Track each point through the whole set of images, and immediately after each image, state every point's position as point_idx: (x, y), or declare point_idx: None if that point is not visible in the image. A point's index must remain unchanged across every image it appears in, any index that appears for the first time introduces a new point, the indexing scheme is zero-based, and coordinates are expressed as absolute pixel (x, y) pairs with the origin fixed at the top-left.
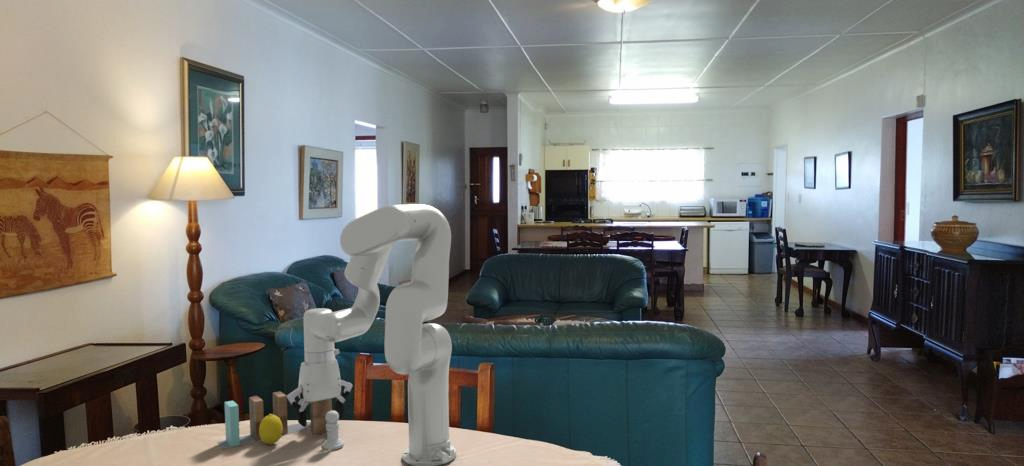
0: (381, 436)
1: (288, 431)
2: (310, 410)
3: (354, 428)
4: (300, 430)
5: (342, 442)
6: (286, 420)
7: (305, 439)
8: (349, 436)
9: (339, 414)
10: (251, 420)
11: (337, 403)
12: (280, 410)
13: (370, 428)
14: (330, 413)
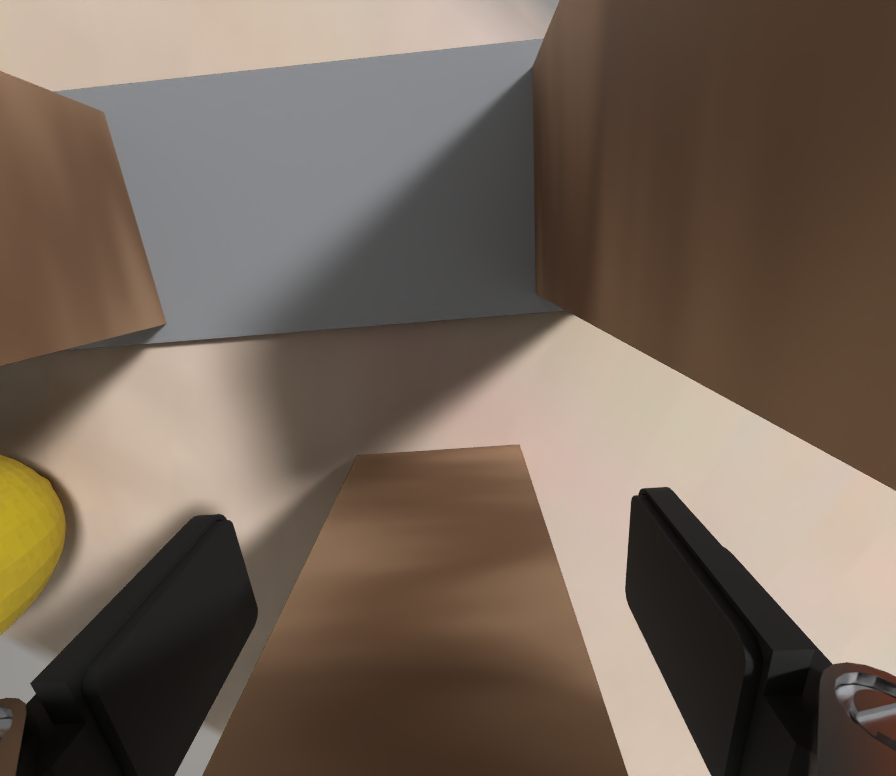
0: None
1: (175, 274)
2: (263, 655)
3: (707, 506)
4: (286, 318)
5: None
6: (35, 355)
7: (299, 510)
8: (592, 623)
9: (642, 633)
10: None
11: (728, 733)
12: None
13: (798, 571)
14: None
